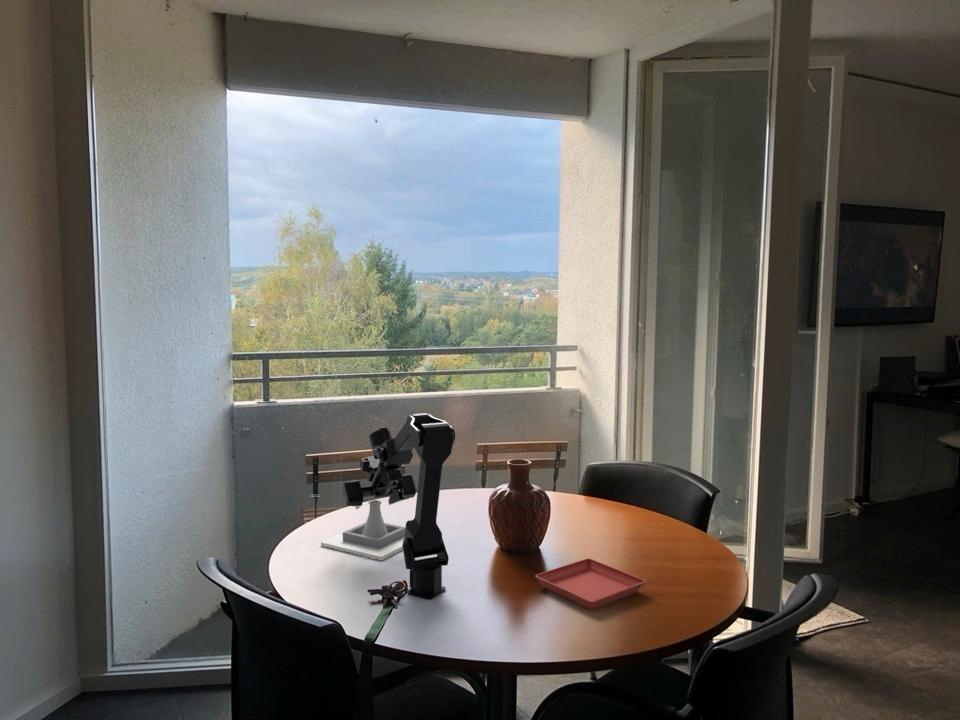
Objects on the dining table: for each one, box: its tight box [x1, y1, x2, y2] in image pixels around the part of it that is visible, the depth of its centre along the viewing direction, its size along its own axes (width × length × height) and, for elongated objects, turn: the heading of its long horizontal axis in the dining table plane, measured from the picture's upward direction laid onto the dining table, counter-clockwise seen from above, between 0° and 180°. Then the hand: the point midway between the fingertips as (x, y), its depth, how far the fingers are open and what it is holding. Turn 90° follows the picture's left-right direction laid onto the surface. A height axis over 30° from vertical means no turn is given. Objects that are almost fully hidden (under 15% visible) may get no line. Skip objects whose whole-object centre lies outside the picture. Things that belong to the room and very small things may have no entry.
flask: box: [362, 499, 388, 538], centre depth 193 cm, size 7×7×10 cm
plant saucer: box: [535, 557, 647, 610], centre depth 163 cm, size 18×18×3 cm
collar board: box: [320, 522, 406, 561], centre depth 193 cm, size 20×20×3 cm
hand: (372, 505), depth 194 cm, fingers open, 9 cm apart
